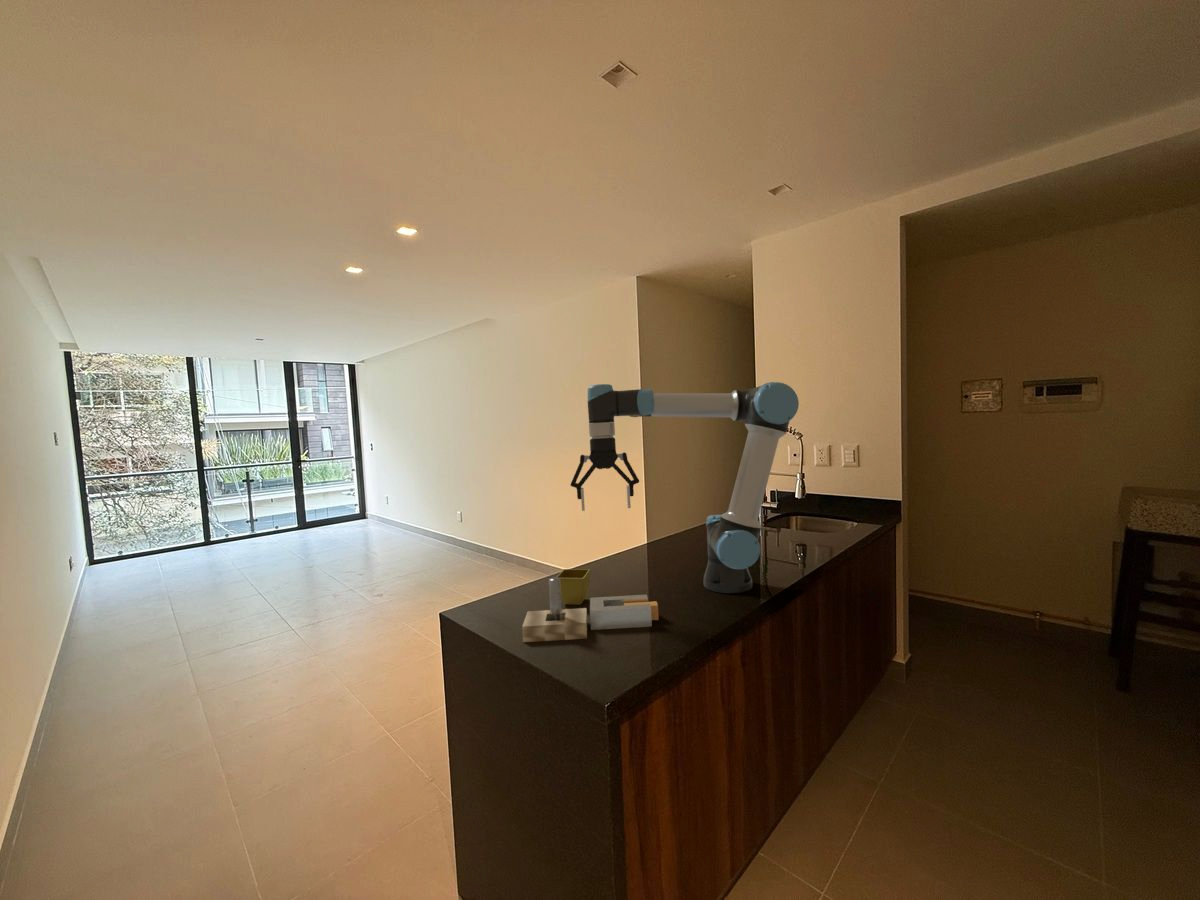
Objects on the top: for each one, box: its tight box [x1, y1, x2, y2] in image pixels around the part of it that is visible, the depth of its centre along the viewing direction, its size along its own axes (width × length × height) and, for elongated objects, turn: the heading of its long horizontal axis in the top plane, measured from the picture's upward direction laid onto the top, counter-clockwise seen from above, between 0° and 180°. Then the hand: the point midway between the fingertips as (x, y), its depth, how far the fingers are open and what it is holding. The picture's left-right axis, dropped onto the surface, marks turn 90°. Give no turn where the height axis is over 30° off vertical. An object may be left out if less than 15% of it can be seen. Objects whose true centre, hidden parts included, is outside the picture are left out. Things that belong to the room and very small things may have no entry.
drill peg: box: [548, 576, 562, 621], centre depth 124 cm, size 3×3×14 cm
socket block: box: [589, 594, 653, 631], centre depth 129 cm, size 16×10×5 cm, turn 91°
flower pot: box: [556, 568, 591, 606], centre depth 145 cm, size 9×9×9 cm
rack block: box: [521, 607, 588, 643], centre depth 124 cm, size 16×10×4 cm, turn 91°
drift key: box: [624, 600, 660, 621], centre depth 129 cm, size 9×3×4 cm, turn 91°
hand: (606, 508), depth 141 cm, fingers open, 13 cm apart
